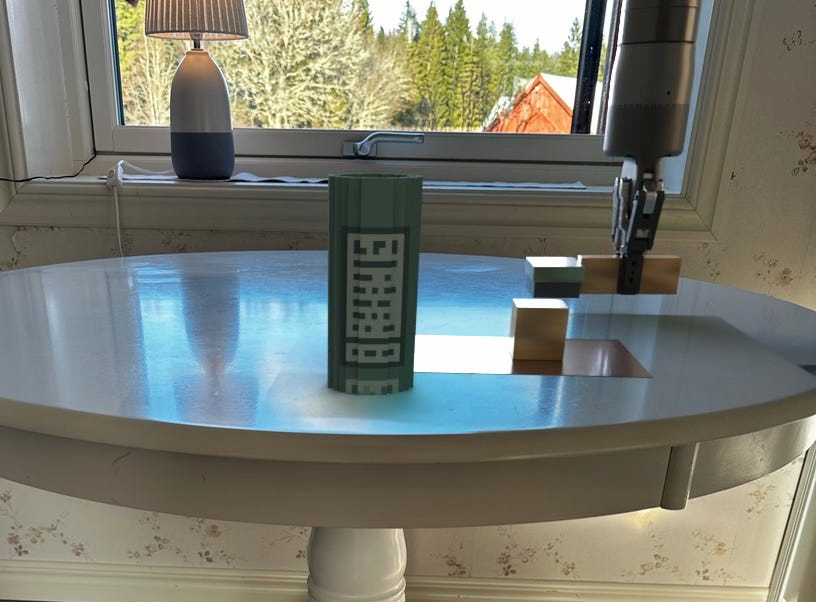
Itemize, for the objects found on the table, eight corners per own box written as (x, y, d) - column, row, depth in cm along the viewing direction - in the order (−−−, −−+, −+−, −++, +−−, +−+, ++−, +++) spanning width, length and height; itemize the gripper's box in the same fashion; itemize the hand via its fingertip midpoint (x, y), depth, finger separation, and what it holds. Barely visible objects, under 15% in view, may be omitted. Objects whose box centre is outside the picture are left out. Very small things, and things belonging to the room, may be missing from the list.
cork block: (556, 350, 79) (562, 299, 77) (563, 360, 76) (569, 308, 74) (508, 349, 79) (512, 298, 78) (512, 359, 76) (517, 307, 74)
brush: (665, 287, 102) (670, 252, 101) (683, 298, 95) (689, 261, 94) (523, 286, 103) (526, 251, 102) (531, 298, 96) (534, 261, 95)
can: (407, 393, 72) (416, 173, 65) (415, 415, 67) (426, 178, 60) (326, 393, 72) (327, 172, 65) (328, 415, 67) (329, 177, 60)
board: (616, 356, 84) (618, 339, 83) (650, 397, 72) (653, 377, 71) (389, 351, 85) (389, 334, 84) (384, 391, 73) (385, 371, 72)
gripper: (709, 98, 84) (677, 303, 93) (672, 102, 97) (647, 282, 105) (622, 99, 85) (599, 303, 93) (597, 103, 97) (578, 282, 105)
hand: (624, 291), depth 99 cm, fingers closed on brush, 2 cm apart
